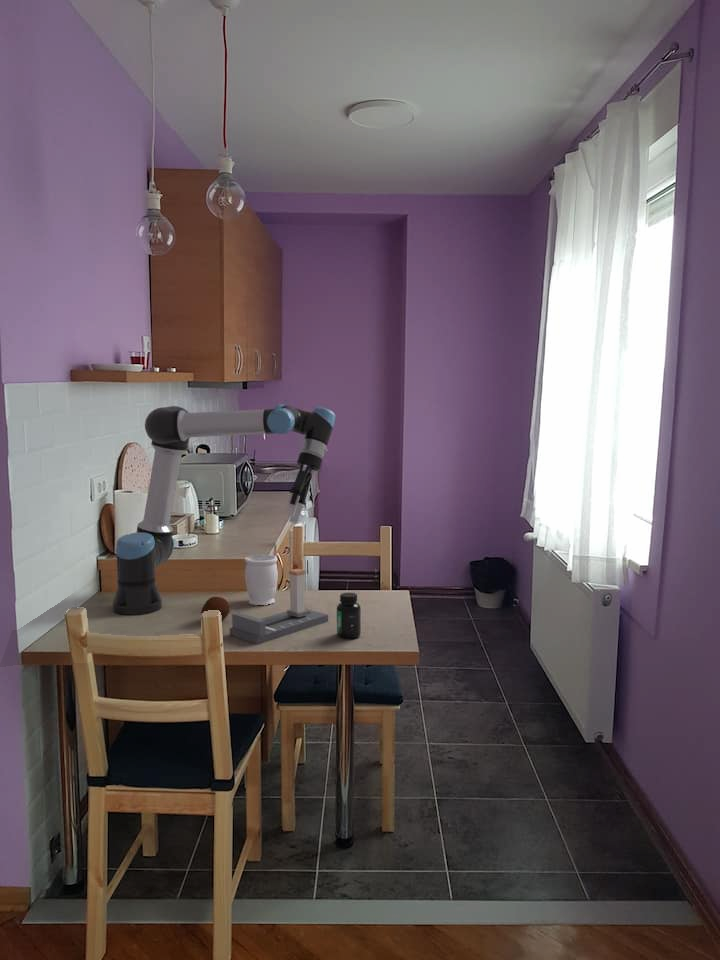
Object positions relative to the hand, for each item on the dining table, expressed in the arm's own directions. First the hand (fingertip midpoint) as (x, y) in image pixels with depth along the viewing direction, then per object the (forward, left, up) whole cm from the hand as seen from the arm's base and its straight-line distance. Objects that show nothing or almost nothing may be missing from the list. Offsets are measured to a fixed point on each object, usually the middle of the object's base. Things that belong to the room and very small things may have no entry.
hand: (291, 519), depth 243 cm
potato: (-24, -4, -30) cm, 39 cm away
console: (-7, -16, -29) cm, 34 cm away
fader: (-1, -12, -27) cm, 30 cm away
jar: (-7, +12, -30) cm, 33 cm away
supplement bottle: (+10, -29, -30) cm, 43 cm away
